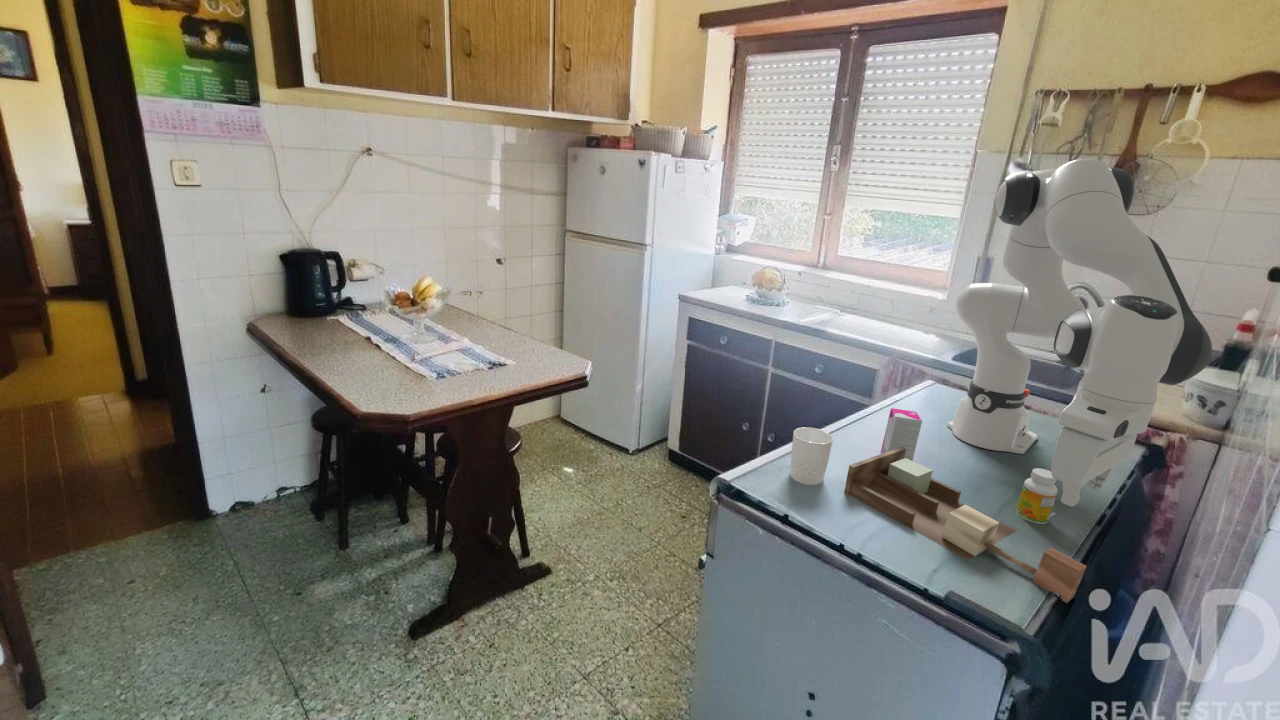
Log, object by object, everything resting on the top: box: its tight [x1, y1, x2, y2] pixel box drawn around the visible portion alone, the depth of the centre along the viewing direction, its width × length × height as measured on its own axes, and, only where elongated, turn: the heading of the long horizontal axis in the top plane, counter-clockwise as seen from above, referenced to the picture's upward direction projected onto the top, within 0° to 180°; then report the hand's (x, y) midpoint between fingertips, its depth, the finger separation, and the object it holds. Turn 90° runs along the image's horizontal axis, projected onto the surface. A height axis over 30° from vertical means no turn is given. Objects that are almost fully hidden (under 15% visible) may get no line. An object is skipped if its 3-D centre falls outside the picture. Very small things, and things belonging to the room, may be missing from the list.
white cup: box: [789, 426, 834, 486], centre depth 123 cm, size 8×8×10 cm
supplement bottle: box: [1015, 467, 1058, 525], centre depth 114 cm, size 5×5×10 cm
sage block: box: [888, 458, 934, 494], centre depth 121 cm, size 6×6×5 cm
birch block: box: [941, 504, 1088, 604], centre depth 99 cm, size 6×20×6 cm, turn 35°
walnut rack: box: [843, 447, 1018, 561], centre depth 114 cm, size 18×25×6 cm
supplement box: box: [880, 407, 923, 461], centre depth 134 cm, size 6×6×12 cm
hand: (1082, 495), depth 89 cm, fingers open, 8 cm apart
